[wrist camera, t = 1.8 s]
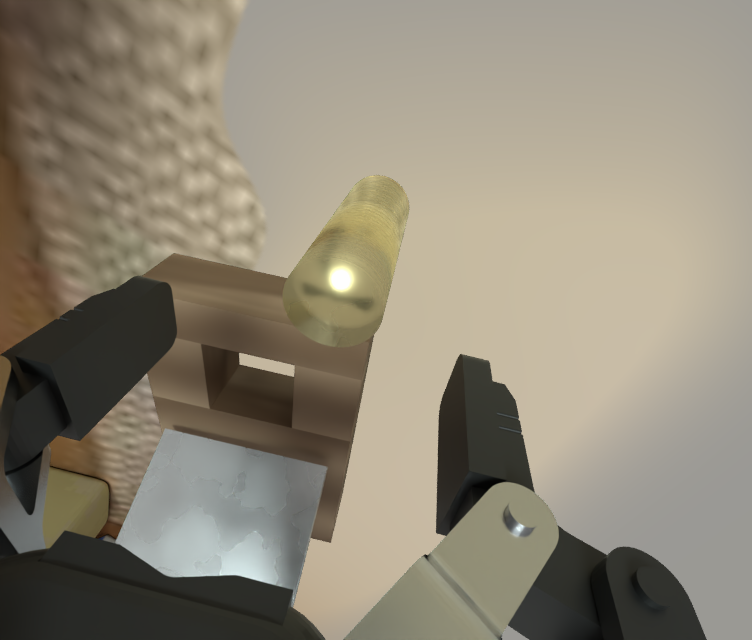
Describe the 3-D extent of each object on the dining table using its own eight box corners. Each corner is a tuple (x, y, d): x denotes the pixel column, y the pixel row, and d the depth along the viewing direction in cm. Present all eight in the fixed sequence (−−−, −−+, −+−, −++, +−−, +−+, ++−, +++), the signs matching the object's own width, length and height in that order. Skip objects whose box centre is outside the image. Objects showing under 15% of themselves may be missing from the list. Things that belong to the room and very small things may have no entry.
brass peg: (351, 169, 18) (283, 248, 10) (415, 182, 18) (392, 272, 10) (344, 230, 20) (281, 335, 12) (402, 242, 19) (374, 356, 12)
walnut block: (173, 253, 22) (125, 287, 19) (381, 298, 21) (368, 342, 18) (207, 462, 33) (180, 506, 30) (342, 494, 33) (330, 542, 30)
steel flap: (172, 431, 24) (165, 428, 23) (328, 468, 24) (327, 466, 23) (98, 602, 20) (86, 607, 19) (282, 649, 20) (279, 657, 19)
